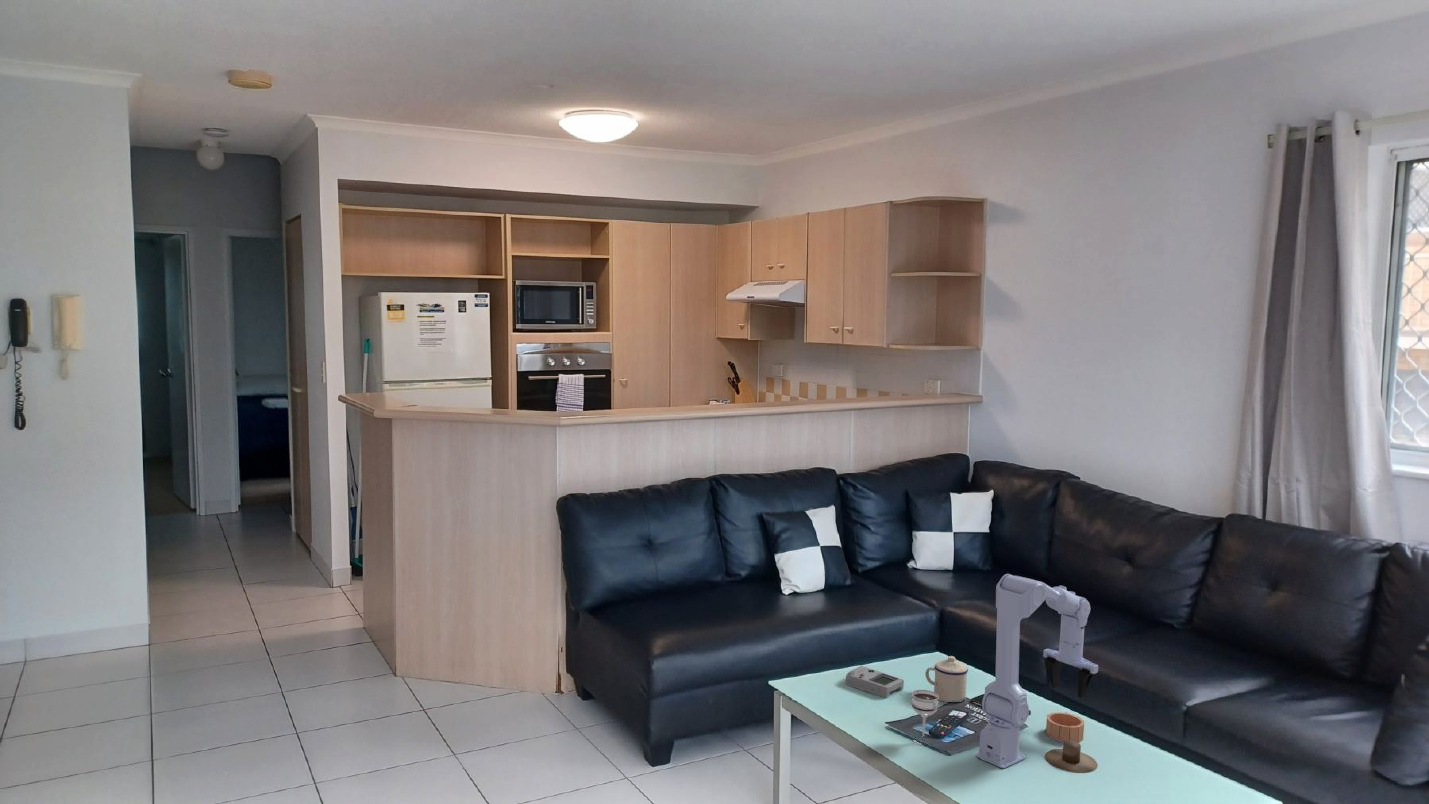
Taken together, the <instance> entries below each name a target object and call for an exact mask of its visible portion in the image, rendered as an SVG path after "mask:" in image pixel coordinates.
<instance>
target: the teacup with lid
mask: <svg viewBox="0 0 1429 804" xmlns="http://www.w3.org/2000/svg"><path fill="white" fill-rule="evenodd" d="M930 671H934V681H933V680H932V679H931V677H930V673H929V672H930ZM968 672H969V669H968V666H967V665H966V664H964V663H963V662H961V661H958V660H956V657H955V656H953V655H950V656H948V657H947V658H946V659H944V660H939V661H937V662H935V664H934V666H930V667H928V668H926V670H925V678H926V680H927V682H928V683H929V684H930V685H932V686H934V690H933V692H935V693H937V694H938V695H939V698H938V701H941V702H944V703H947V702H952V701H953V700H956V699H961V698H965V699H966V696H967V679H968V678H967V675H968Z"/></svg>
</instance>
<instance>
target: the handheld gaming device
mask: <svg viewBox="0 0 1429 804" xmlns="http://www.w3.org/2000/svg"><path fill="white" fill-rule="evenodd" d="M904 682H905V681H904V679H903V678H900V677H896V676H893V675H891V674H888V673H885V672H881V671H878V670H876V669H872V668H869V667H867V666H863V665H861V666H858V667H856V668H853V669H852V670H850V671H848V673H846V675H845V684H846V685H847V686H849V687H853V688H856V689H859V690H861V691H863V692H867V693H869V694H873V695H876V696H879V697H882V698H886V699H887V698H888V697H890V693H891V692H893V691H895V690H896V691H899V692H900V691H903V690H904V684H905V683H904Z"/></svg>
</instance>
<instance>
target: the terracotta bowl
mask: <svg viewBox="0 0 1429 804" xmlns="http://www.w3.org/2000/svg"><path fill="white" fill-rule="evenodd" d="M1045 726H1046V727H1045V733H1046V735H1047V736H1048V737H1049V736H1050V738H1051V739H1053V740H1056V741H1058V740H1059V741H1058V742H1061V743H1063V742H1064V741H1075V742H1077V743H1079V742H1081V740H1082V741H1083V740H1084V732H1085V721H1084V720H1083V718H1082V717H1079V716H1077V715H1074V714H1071V713H1066V712H1058V711H1057V712H1051V713H1048V714H1047V715H1046V725H1045Z"/></svg>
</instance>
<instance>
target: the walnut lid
mask: <svg viewBox="0 0 1429 804" xmlns="http://www.w3.org/2000/svg"><path fill="white" fill-rule="evenodd" d="M1081 749H1082V744H1081V743H1079V742H1075V741H1064V742H1062V748H1053V749H1050V750H1047V751H1046V752H1045V754H1044V759H1045V761H1046V762H1047V763H1048V764H1049V765H1051V766H1053V767H1055V768H1056V769H1059V770H1061V771H1066V772H1070V773H1076V774H1085V773H1092V772H1094V771H1096V770H1097V768H1098V762H1097V761H1096V759H1094V758H1093V757H1092V756H1091V755H1089V754H1086V753H1084V752H1082V751H1081Z"/></svg>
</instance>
